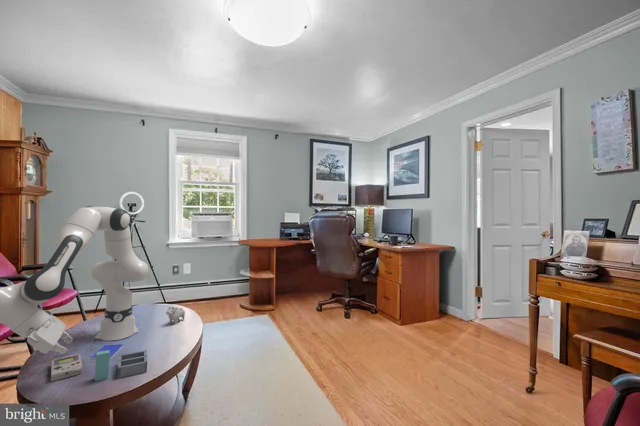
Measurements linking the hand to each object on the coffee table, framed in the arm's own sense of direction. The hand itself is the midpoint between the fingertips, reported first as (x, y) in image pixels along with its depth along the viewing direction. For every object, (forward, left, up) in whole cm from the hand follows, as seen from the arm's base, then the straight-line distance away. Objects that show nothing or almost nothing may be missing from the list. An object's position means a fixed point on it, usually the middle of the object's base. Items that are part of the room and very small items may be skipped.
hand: (68, 346), depth 106 cm
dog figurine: (-50, +41, -15) cm, 67 cm away
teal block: (0, +10, -14) cm, 18 cm away
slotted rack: (-3, +20, -14) cm, 25 cm away
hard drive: (-24, +11, -15) cm, 30 cm away
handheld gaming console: (-13, -2, -15) cm, 20 cm away
